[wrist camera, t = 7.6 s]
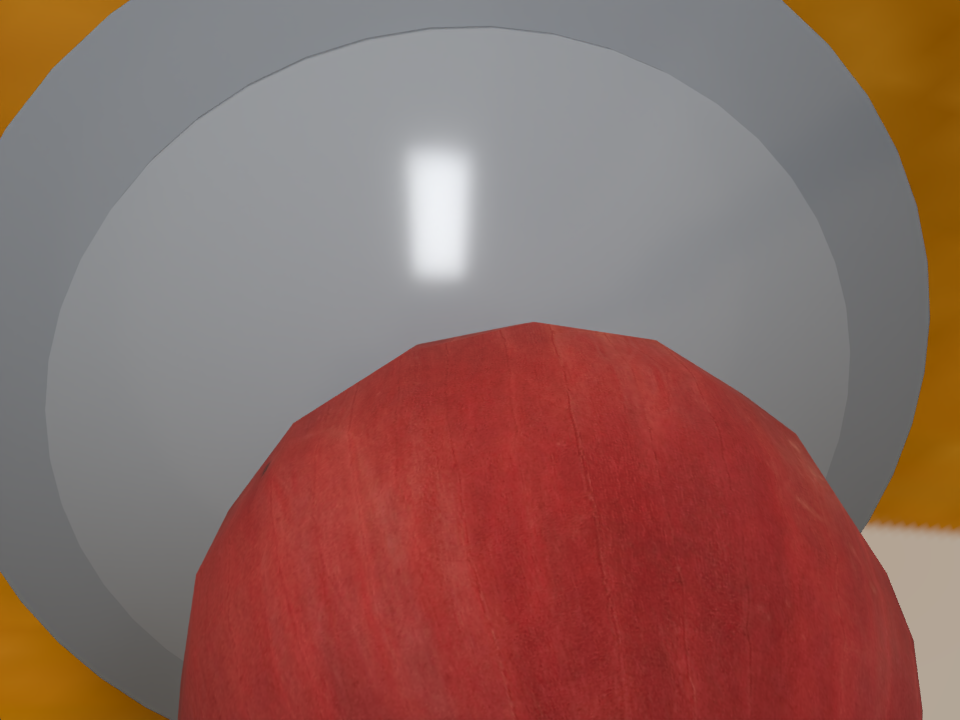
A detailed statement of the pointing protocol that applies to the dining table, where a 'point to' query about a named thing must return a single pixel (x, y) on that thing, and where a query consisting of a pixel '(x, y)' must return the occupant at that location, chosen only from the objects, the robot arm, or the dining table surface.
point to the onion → (543, 553)
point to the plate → (412, 253)
